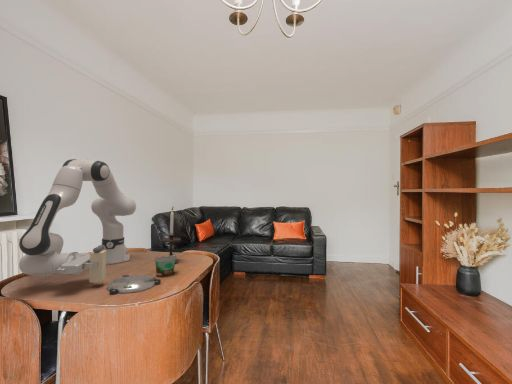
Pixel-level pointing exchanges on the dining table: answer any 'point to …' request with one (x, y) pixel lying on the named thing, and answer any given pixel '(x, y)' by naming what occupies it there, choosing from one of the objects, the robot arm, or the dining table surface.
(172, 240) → the candlestick
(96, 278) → the cream bottle
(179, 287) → the dining table surface
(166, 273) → the food container
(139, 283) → the levelling base
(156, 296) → the dining table surface
